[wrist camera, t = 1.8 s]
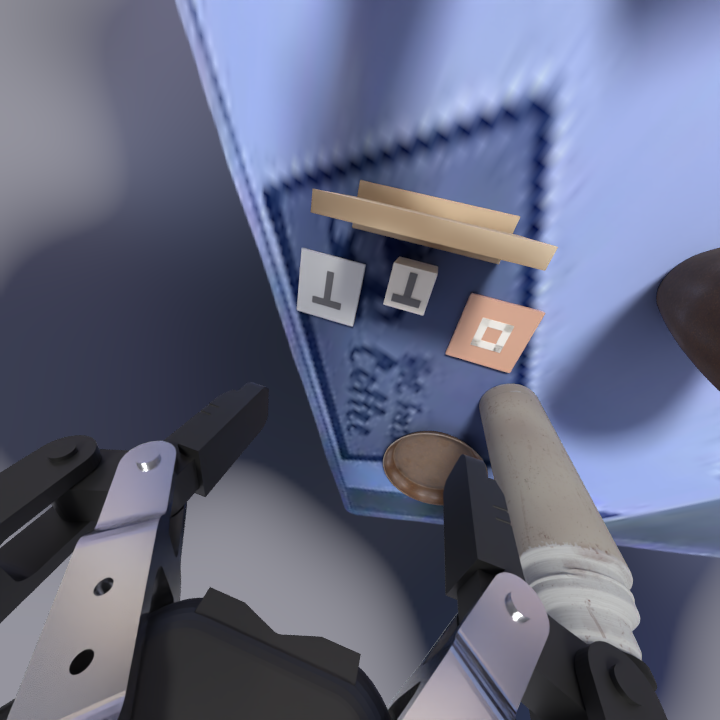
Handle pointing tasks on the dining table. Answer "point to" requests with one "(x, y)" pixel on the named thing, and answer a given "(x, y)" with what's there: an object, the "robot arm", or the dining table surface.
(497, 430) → the thermos bottle
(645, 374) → the dining table surface
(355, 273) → the pad
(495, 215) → the screen
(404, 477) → the plant saucer
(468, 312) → the pad
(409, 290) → the letter cube
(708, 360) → the plant pot
